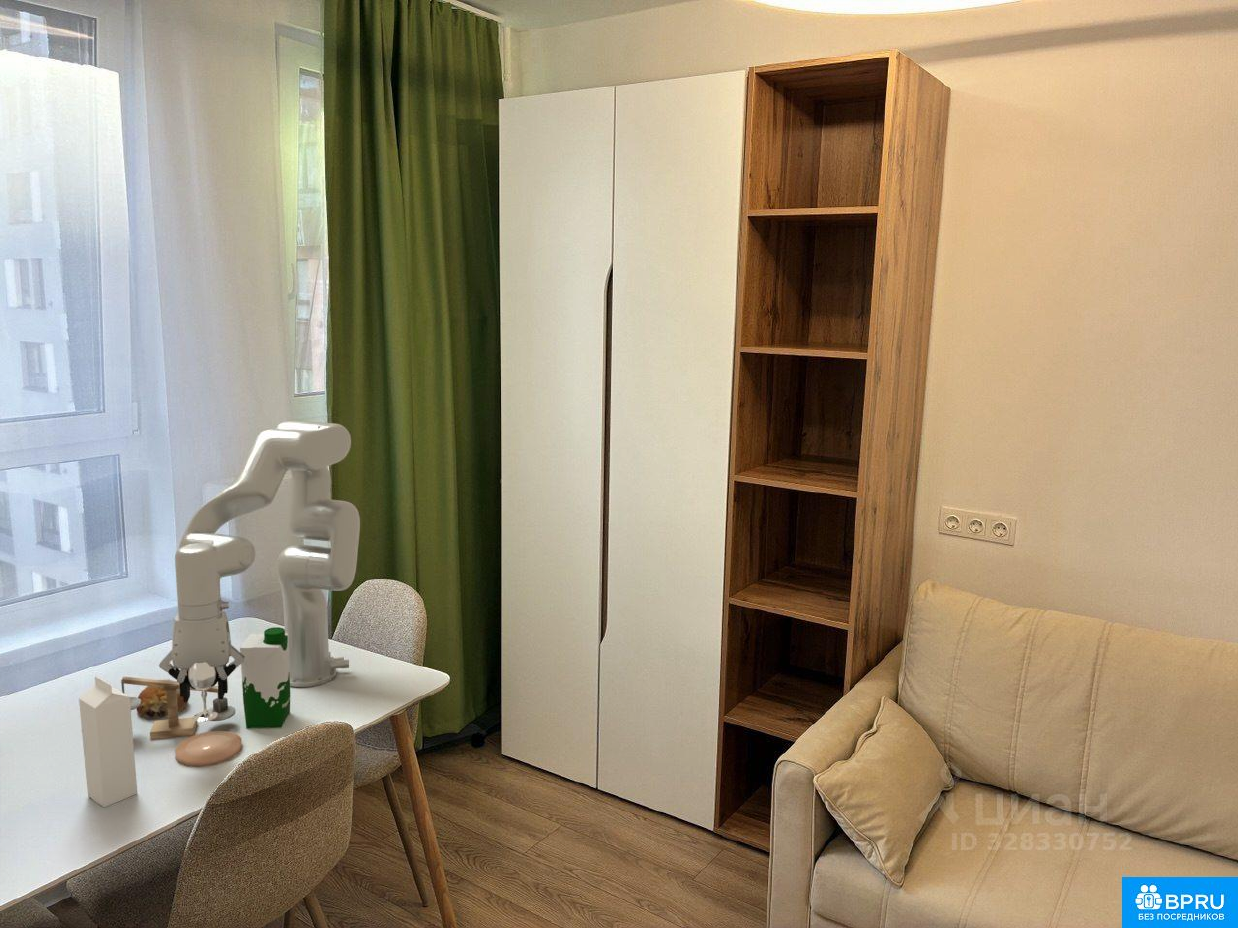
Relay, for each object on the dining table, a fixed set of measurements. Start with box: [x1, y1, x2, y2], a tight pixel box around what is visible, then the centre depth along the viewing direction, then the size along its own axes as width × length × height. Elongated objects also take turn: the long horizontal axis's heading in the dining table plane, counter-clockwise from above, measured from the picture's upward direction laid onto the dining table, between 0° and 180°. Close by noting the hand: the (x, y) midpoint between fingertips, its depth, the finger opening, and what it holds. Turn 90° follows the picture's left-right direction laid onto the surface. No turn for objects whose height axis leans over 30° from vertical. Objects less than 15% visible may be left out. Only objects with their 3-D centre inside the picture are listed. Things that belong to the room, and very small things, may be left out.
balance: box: [120, 676, 236, 740], centre depth 190 cm, size 24×6×12 cm, turn 105°
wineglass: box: [186, 662, 219, 723], centre depth 181 cm, size 6×6×12 cm
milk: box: [78, 676, 138, 808], centre depth 166 cm, size 6×6×22 cm
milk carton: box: [239, 626, 291, 729], centre depth 195 cm, size 9×9×20 cm
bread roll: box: [135, 679, 189, 719], centre depth 201 cm, size 10×10×8 cm
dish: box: [174, 730, 243, 768], centre depth 184 cm, size 12×12×1 cm
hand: (204, 697), depth 181 cm, fingers closed on wineglass, 5 cm apart
